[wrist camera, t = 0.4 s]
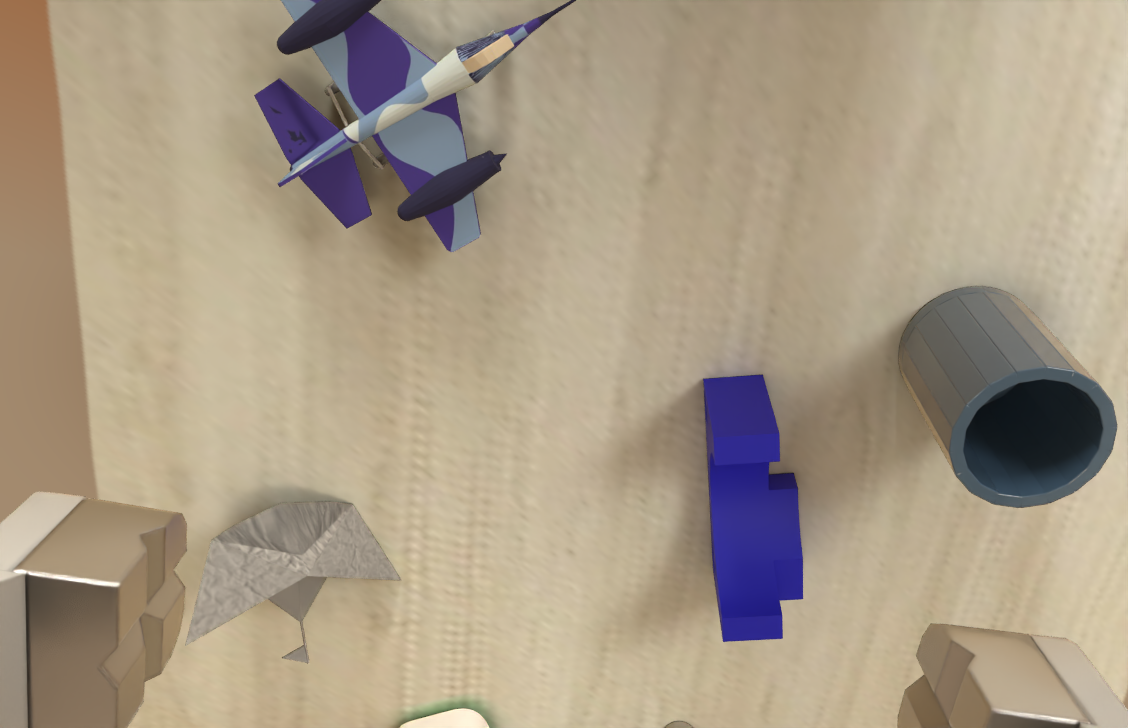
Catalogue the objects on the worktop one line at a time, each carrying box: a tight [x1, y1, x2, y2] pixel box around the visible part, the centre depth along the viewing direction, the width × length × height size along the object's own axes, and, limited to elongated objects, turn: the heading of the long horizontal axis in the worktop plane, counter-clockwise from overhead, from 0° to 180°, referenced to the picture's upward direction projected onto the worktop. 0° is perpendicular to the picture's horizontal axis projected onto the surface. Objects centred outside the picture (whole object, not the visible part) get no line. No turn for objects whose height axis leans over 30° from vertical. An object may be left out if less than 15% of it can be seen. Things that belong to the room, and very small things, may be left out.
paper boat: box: [185, 501, 401, 663], centre depth 57 cm, size 12×6×9 cm
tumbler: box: [898, 286, 1117, 508], centre depth 48 cm, size 7×7×9 cm
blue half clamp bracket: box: [703, 375, 803, 642], centre depth 53 cm, size 12×4×6 cm, turn 6°
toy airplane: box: [254, 0, 576, 252], centre depth 46 cm, size 13×14×4 cm
